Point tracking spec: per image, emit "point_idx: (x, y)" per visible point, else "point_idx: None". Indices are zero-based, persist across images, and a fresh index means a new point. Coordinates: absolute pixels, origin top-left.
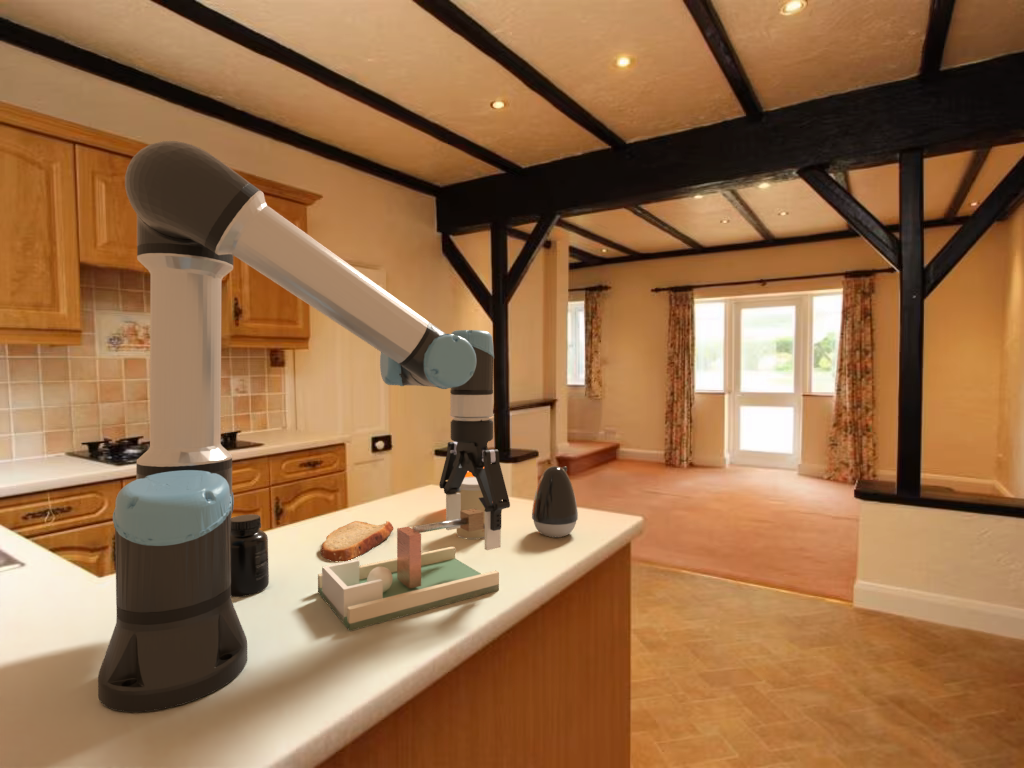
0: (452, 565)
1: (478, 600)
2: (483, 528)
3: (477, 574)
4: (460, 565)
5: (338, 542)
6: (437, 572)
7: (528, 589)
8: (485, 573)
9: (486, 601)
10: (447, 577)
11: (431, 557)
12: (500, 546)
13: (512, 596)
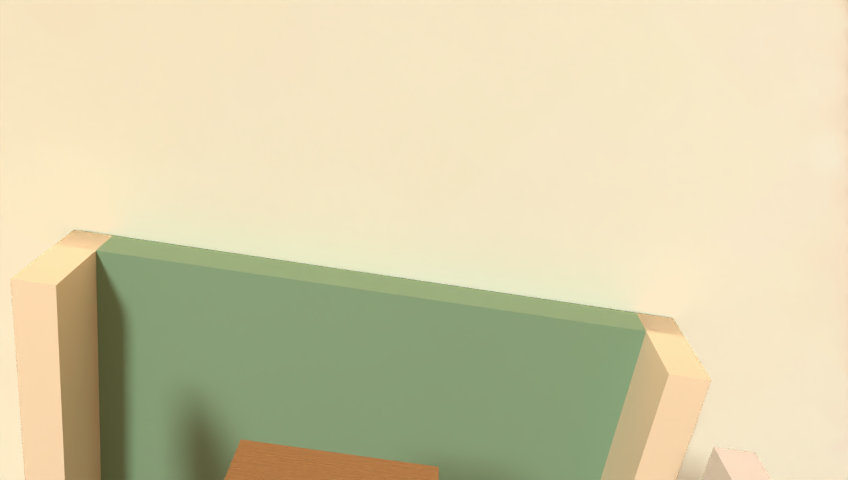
0: (214, 345)
1: None
2: (436, 468)
3: (460, 329)
4: (248, 309)
5: None
6: None
7: (816, 180)
8: (653, 451)
9: None
10: None
11: (80, 440)
12: (760, 461)
13: (794, 318)
